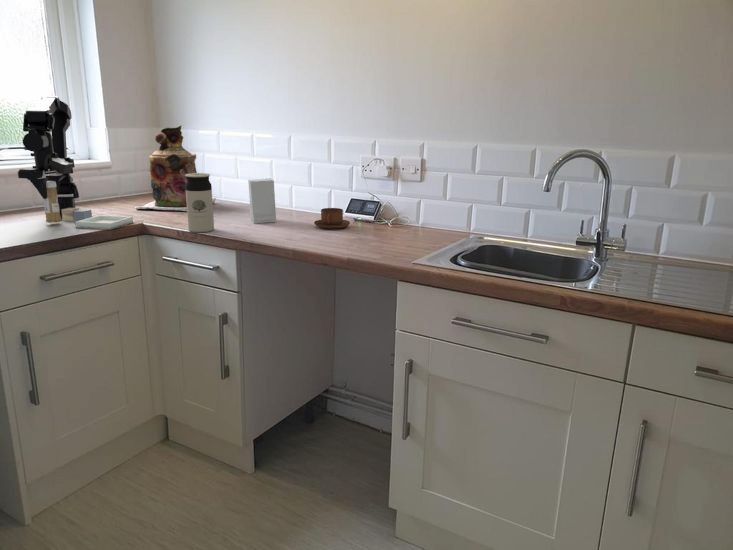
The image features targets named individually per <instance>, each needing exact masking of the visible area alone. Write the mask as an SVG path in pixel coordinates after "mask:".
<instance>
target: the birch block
mask: <svg viewBox="0 0 733 550" xmlns="http://www.w3.org/2000/svg"><path fill="white" fill-rule="evenodd" d="M61 210H62V216H61V217H62V218H61V219H62V221H63V222H74V214H73V211H76V210H80V207H75V208H66V209H61Z"/></svg>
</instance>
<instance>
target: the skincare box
mask: <svg viewBox="0 0 733 550" xmlns="http://www.w3.org/2000/svg"><path fill="white" fill-rule="evenodd" d="M247 181H248V195H249V208H250V210H249V211H250V221H251V222H252V223H253V225H254V224H255V225H256V224H265V223H266V224H267V223H276V222H277V213H276V198H275V197H276V194H275V180H273V178H260V179H259V178H257V179H248V180H247Z"/></svg>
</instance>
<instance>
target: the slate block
mask: <svg viewBox="0 0 733 550" xmlns="http://www.w3.org/2000/svg"><path fill="white" fill-rule="evenodd" d="M79 209H80V208H79ZM73 214H74V221H73V222H74V223H75V222H76V221H80V220H84V219H87V218H91V217H93V215H92V209H86V208H85V209H80V210H76V211H73Z"/></svg>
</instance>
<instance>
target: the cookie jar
mask: <svg viewBox="0 0 733 550" xmlns="http://www.w3.org/2000/svg"><path fill="white" fill-rule="evenodd" d="M181 130H182V125H180V124H179V125H178V126H176V127H164V128H163V129H161V130H160V132H159V133H157V134H155V139H154V140H155V142H156V143H158V144H160V146H159V149H158V150H155V151H153V153H152V154H151V155H149V157H148V158H149V163H150V164H149V173H150V178H151V179H150V187H151V189H152V190H151V191H152V192H151V195H152V199H154V200H153V201H151V202H149V203H147V204H144V205H142V206H135V207H134V208H135V210H140V209H141V210H147V209H152V210H158V211H159V210H160V211H183V212H187V201H186V188H185V185H186V182H187V177H186V176H185V175H186V174H192V173H198V171H197V168H196V159H197V154H196V153H192V152H190V151H188V150H186V148H184V147H183V145H182V143H183V140H184V136H183V135H182V134H183V133H182V131H181ZM216 200H217V198H216V197H215V198H214V197H212V202H213V204H215V202H216Z"/></svg>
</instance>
